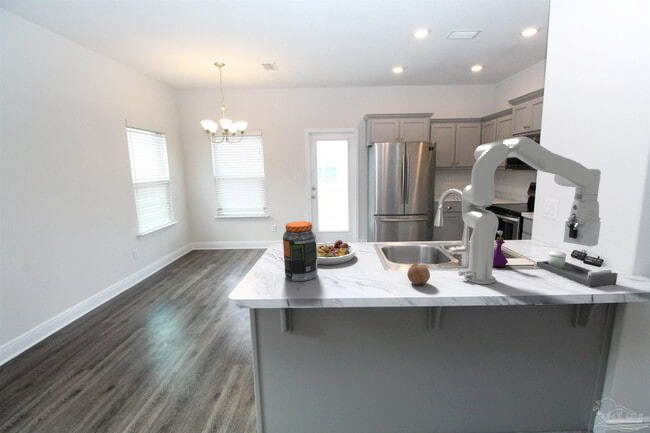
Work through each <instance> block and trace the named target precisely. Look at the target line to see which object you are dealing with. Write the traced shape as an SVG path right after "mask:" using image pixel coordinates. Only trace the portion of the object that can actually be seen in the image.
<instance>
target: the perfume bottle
mask: <svg viewBox="0 0 650 433" xmlns="http://www.w3.org/2000/svg"><path fill="white" fill-rule="evenodd" d="M503 232H504V231H502V230H497V231H496V234H497V235H499V237H496V239H495V242H494V243H496V248H495V249H494V256H493V267H494V266H498V267H497V268H504V266H506V265H507V264H508V263H509V260H508V259H507V258H506V257H505V255H504V254H503V252H502V246H503V245H504V244H505V243H506V242H505V241H504V240H505V239H504V237H502V235H503Z"/></svg>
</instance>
